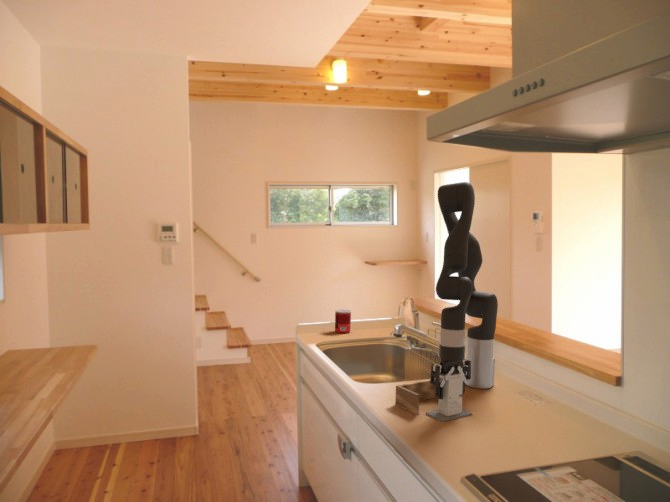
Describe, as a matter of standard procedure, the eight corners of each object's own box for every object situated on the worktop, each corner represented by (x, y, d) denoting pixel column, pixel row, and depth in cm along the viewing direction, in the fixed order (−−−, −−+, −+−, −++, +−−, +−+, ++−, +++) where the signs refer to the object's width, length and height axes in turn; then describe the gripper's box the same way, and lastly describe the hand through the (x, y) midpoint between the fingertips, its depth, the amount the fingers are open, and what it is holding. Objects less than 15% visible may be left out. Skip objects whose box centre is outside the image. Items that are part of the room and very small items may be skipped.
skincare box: (447, 416, 157) (449, 376, 157) (437, 412, 161) (438, 372, 160) (462, 413, 161) (464, 373, 160) (451, 408, 164) (453, 369, 164)
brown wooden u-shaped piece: (438, 395, 178) (438, 377, 177) (459, 405, 169) (460, 386, 169) (395, 404, 168) (396, 385, 168) (416, 414, 160) (416, 395, 159)
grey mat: (455, 407, 167) (455, 406, 167) (471, 414, 161) (471, 413, 161) (425, 414, 160) (426, 412, 160) (442, 422, 155) (442, 420, 154)
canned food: (353, 332, 273) (354, 311, 272) (342, 334, 267) (343, 312, 266) (342, 329, 278) (342, 308, 277) (331, 331, 272) (332, 310, 272)
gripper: (460, 337, 166) (458, 389, 167) (425, 342, 159) (423, 396, 160) (478, 343, 160) (476, 396, 161) (443, 348, 152) (441, 404, 153)
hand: (450, 396), depth 160 cm, fingers open, 8 cm apart
